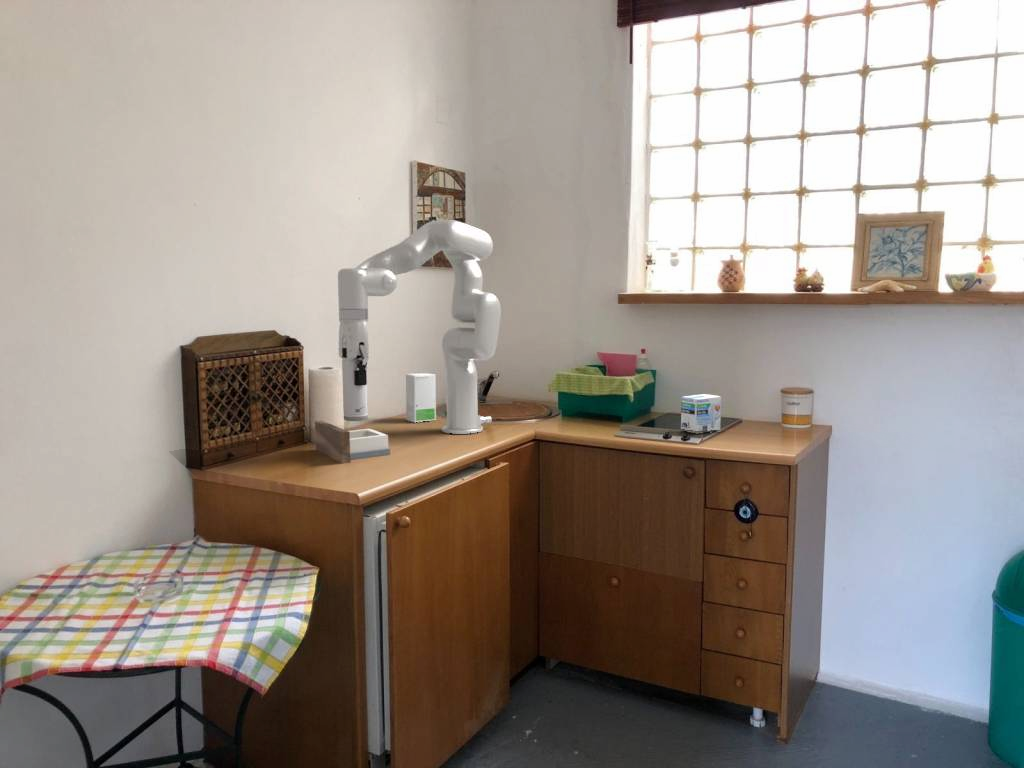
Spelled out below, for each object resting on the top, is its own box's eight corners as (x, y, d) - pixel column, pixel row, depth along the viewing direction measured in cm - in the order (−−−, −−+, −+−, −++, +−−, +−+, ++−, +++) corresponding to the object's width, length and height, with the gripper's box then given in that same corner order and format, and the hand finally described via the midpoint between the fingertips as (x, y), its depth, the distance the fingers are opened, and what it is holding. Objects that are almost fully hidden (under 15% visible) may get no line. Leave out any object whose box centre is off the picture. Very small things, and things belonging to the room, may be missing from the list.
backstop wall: (322, 449, 218) (321, 420, 217) (350, 462, 201) (349, 431, 200) (315, 450, 217) (314, 421, 216) (342, 463, 200) (341, 432, 199)
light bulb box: (696, 435, 235) (696, 398, 234) (679, 431, 241) (680, 396, 240) (721, 431, 241) (722, 395, 240) (704, 427, 247) (705, 393, 245)
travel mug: (363, 421, 208) (361, 345, 205) (340, 420, 209) (337, 345, 207) (372, 417, 214) (370, 343, 211) (349, 417, 215) (347, 343, 213)
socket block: (369, 445, 222) (368, 428, 221) (390, 454, 210) (389, 435, 210) (327, 450, 216) (327, 432, 215) (347, 460, 204) (346, 440, 203)
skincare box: (414, 423, 258) (413, 375, 256) (405, 420, 263) (404, 373, 261) (437, 420, 262) (436, 374, 260) (428, 418, 268) (427, 372, 266)
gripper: (328, 315, 213) (330, 381, 216) (352, 317, 199) (354, 388, 201) (354, 314, 218) (356, 379, 220) (380, 316, 203) (382, 386, 205)
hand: (355, 383), depth 210 cm, fingers closed on travel mug, 6 cm apart
